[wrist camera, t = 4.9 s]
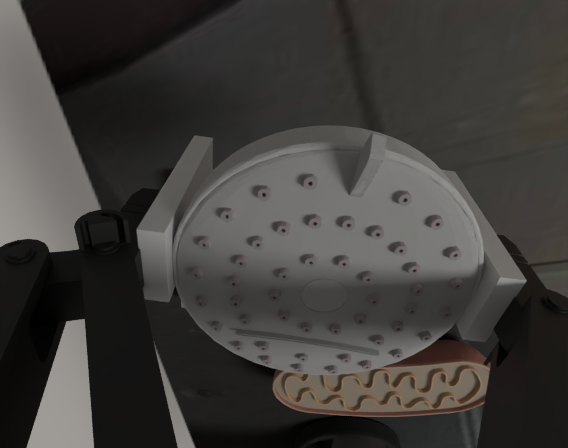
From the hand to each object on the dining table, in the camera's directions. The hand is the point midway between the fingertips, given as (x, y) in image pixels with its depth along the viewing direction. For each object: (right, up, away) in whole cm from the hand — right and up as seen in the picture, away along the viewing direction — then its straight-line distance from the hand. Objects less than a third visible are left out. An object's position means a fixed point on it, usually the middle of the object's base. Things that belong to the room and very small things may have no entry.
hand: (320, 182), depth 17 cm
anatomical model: (+9, -16, +28) cm, 33 cm away
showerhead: (0, 0, 0) cm, 0 cm away
